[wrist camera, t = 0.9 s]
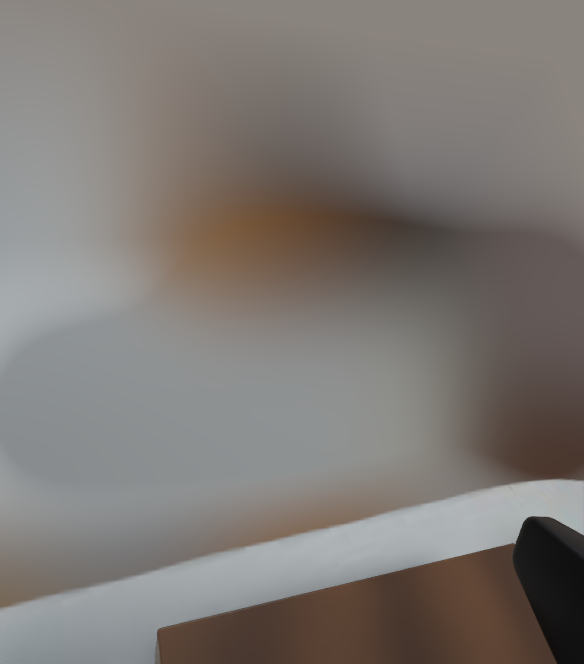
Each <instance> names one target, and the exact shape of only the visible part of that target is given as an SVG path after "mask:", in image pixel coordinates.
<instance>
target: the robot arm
mask: <svg viewBox="0 0 584 664" xmlns="http://www.w3.org/2000/svg"><path fill="white" fill-rule="evenodd" d="M512 562H513V566H514V569H515V571H516V574H517V576H518V578H519V581H520V583H521V585H522V587H523V590H524V592H525V594H526V596H527V599H528V601H529V603H530V605H531V608H532V610H533V612H534V614H535V617H536V619H537V621H538V623H539V626H540V628H541V630H542V632H543V635H544V637H545V639H546V641H547V643H548V646H549V648H550V650H551V652H552V654H553V656H554V658H555V660H556V662H557V664H584V535H582V534H580V533H578V532H577V531H575V530H573V529H571V528H569V527H568V526H566V525H564V524H562V523H560V522H559V521H557V520H555V519H553V518H550V517H534V516H532V517H528V518H527V519H526V520H525V521H524V522H523V525H522V528H521V530H520V533H519V536H518V539H517V541H516V544H515V547H514V550H513V553H512Z"/></svg>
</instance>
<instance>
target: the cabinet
mask: <svg viewBox="0 0 584 664" xmlns="http://www.w3.org/2000/svg"><path fill="white" fill-rule="evenodd" d="M514 547H515V544H514V543H512V544H508V545H504V546H500V547H496V548H491V549H487V550H483V551H479V552H475V553H471V554H466V555H462V556H458V557H454V558H450V559H446V560H442V561H437V562H433V563H429V564H425V565H421V566H417V567H413V568H408V569H404V570H400V571H396V572H392V573H388V574H383V575H379V576H375V577H371V578H367V579H363V580H359V581H354V582H350V583H346V584H342V585H338V586H334V587H330V588H325V589H321V590H317V591H313V592H309V593H305V594H301V595H296V596H292V597H288V598H284V599H280V600H276V601H271V602H267V603H263V604H259V605H255V606H251V607H247V608H242V609H238V610H234V611H230V612H226V613H222V614H218V615H213V616H209V617H205V618H201V619H197V620H193V621H188V622H184V623H180V624H176V625H172V626H168V627H164V628H160V629H158V631H157V641H156V652H155V664H557V662H556V660H555V658H554V656H553V654H552V652H551V650H550V648H549V646H548V643H547V641H546V639H545V637H544V635H543V632H542V630H541V628H540V626H539V623H538V621H537V619H536V617H535V614H534V612H533V610H532V608H531V605H530V603H529V601H528V599H527V596H526V594H525V592H524V590H523V587H522V585H521V583H520V581H519V578H518V576H517V574H516V571H515V569H514V566H513V562H512V553H513V550H514Z"/></svg>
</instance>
